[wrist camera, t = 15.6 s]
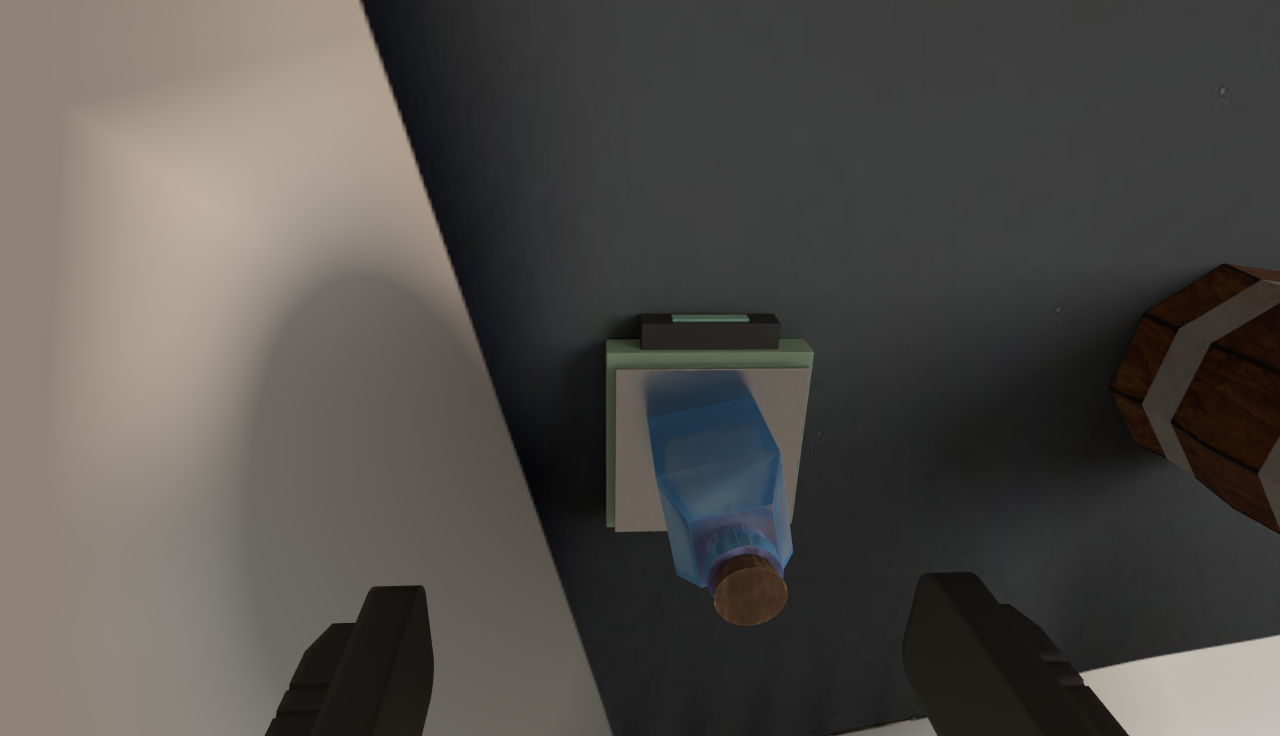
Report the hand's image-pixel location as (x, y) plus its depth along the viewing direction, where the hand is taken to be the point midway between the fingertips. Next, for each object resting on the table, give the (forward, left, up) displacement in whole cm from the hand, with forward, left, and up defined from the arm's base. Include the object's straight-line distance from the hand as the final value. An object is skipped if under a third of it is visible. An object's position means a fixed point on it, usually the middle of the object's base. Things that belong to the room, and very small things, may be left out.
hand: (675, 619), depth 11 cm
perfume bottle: (+5, -12, -26) cm, 29 cm away
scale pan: (+5, -12, -27) cm, 30 cm away
